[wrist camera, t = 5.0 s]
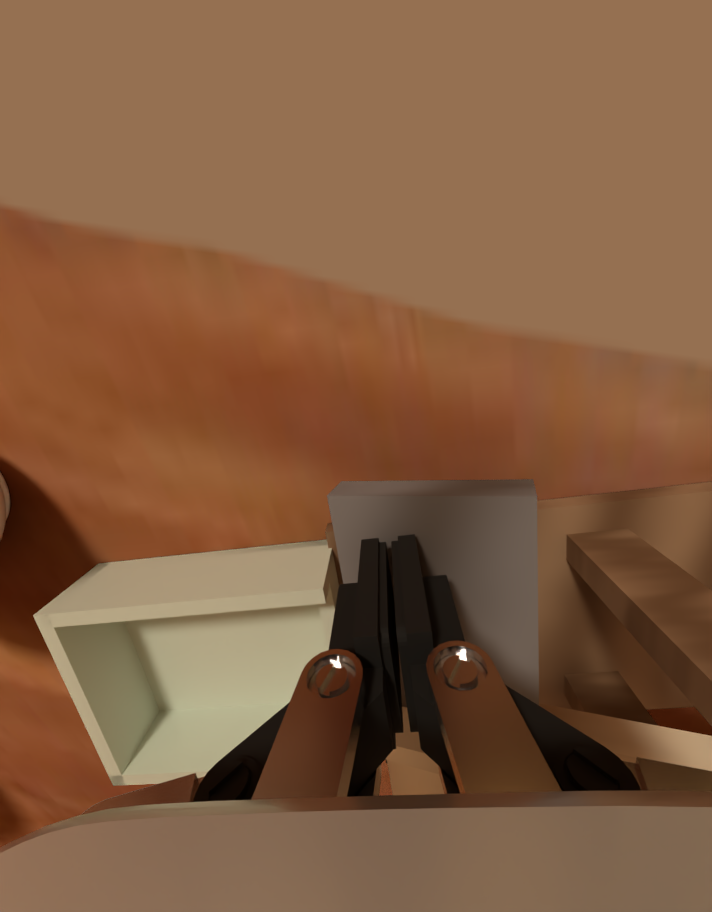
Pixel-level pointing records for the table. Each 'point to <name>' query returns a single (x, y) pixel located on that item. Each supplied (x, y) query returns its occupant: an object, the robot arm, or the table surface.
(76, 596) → the tray
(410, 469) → the table surface
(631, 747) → the lever
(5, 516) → the lidded jar
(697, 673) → the stand
